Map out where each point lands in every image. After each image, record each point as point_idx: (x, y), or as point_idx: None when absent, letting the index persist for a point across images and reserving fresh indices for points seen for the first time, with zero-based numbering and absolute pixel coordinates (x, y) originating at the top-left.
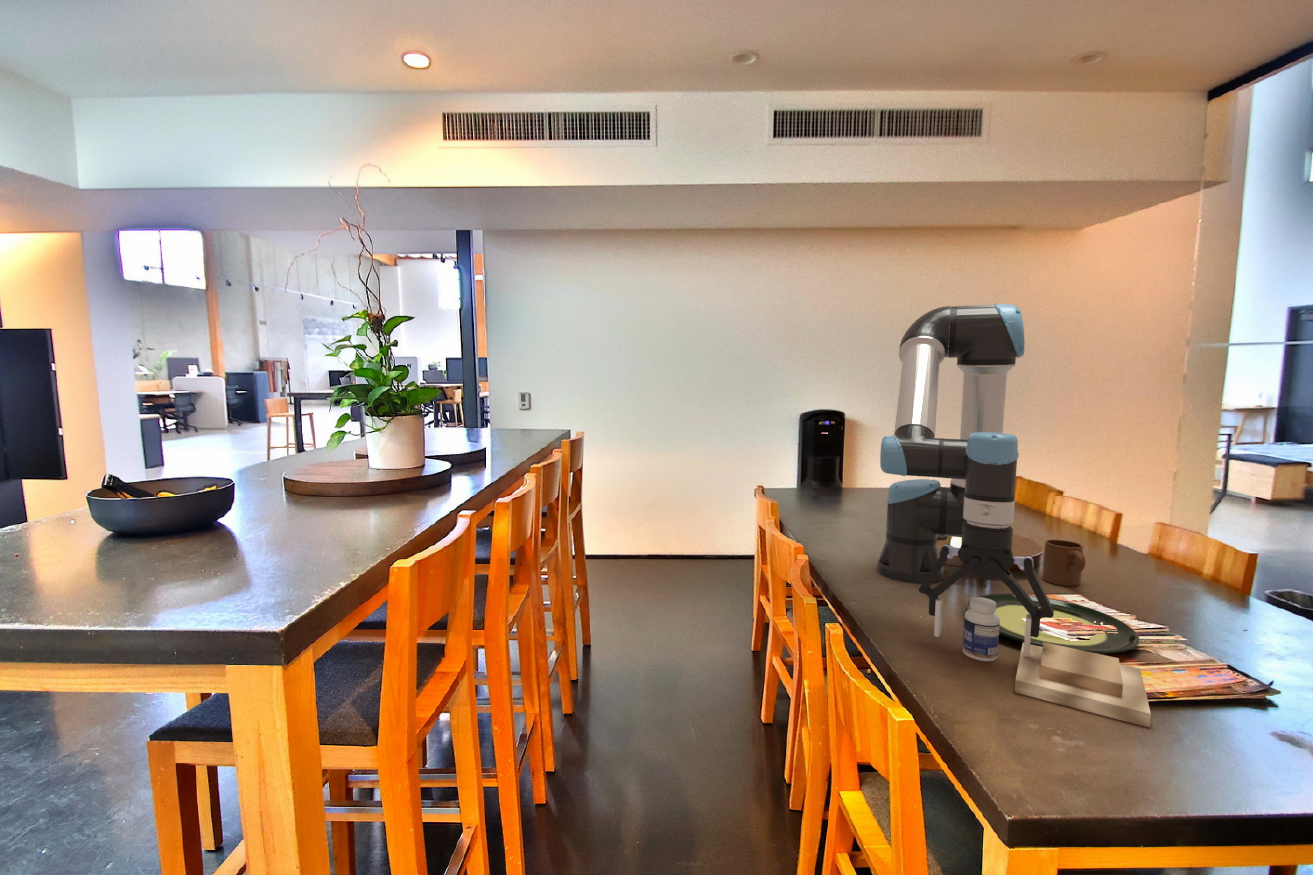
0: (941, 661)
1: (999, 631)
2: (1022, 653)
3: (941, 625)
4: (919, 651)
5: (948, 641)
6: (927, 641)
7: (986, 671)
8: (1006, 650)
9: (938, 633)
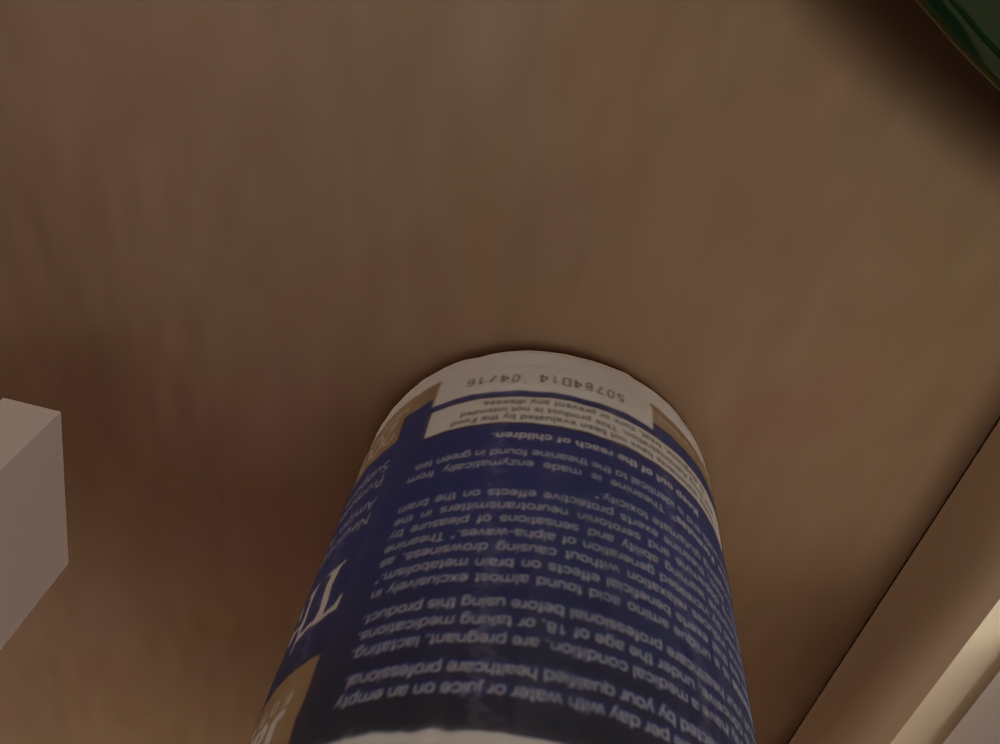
0: (209, 675)
1: (959, 39)
2: (959, 678)
3: (3, 468)
4: None
5: (212, 239)
6: (4, 323)
7: None
8: (896, 268)
9: (42, 591)
